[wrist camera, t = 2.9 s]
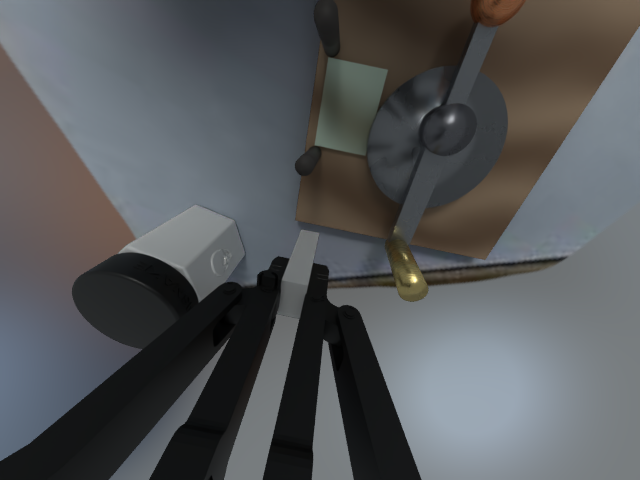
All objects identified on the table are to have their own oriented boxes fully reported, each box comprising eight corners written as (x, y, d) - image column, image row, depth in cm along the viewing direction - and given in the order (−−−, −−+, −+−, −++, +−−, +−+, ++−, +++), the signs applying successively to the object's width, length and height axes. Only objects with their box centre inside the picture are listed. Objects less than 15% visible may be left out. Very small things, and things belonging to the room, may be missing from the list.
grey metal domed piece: (413, -40, 14) (483, -197, 7) (574, -6, 14) (804, -127, 7) (341, 236, 23) (340, 287, 16) (437, 255, 23) (475, 315, 16)
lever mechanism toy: (337, -63, 15) (332, -204, 8) (635, 0, 15) (863, -90, 8) (297, 214, 25) (280, 250, 18) (477, 252, 25) (525, 301, 18)
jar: (252, 268, 29) (199, 355, 18) (194, 270, 30) (113, 353, 19) (231, 200, 25) (146, 263, 14) (164, 206, 26) (40, 269, 15)
